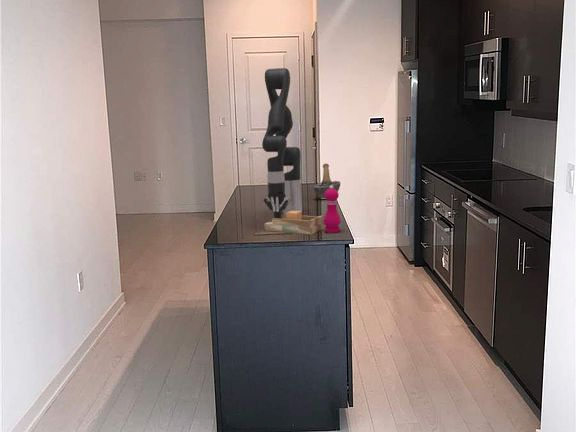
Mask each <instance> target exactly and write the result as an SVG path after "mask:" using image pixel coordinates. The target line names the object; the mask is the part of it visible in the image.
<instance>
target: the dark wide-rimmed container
mask: <svg viewBox="0 0 576 432" xmlns="http://www.w3.org/2000/svg"><path fill="white" fill-rule="evenodd" d="M329 167H330V164H328V163H323V165H322V168H323V171H322V172H323V174H322V180H321V182H319V183H317V184H314V185H313V190H314V191H313V192H315V195H316V196H317V197H318V198H320V199H321V198H325V192H326V191H327V190H328V189H330V188H329V187H330V186H331V185H332V186H333V187H334V188H333V189H335V190H337V191H338V192H339V191H340V187H341V181H339V180H338V181H337V180H335V181H332V180H331V176H330V169H329Z"/></svg>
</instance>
